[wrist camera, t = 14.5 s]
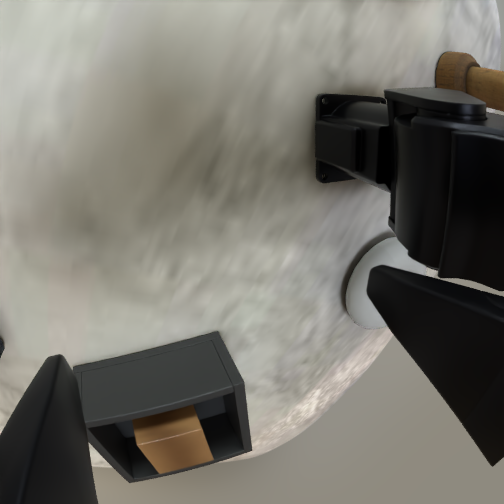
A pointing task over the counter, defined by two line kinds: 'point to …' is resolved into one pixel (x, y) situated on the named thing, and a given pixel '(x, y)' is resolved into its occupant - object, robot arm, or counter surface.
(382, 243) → the donut
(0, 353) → the small box
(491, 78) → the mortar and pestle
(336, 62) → the counter surface
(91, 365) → the open box
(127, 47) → the counter surface
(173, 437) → the cardboard box
